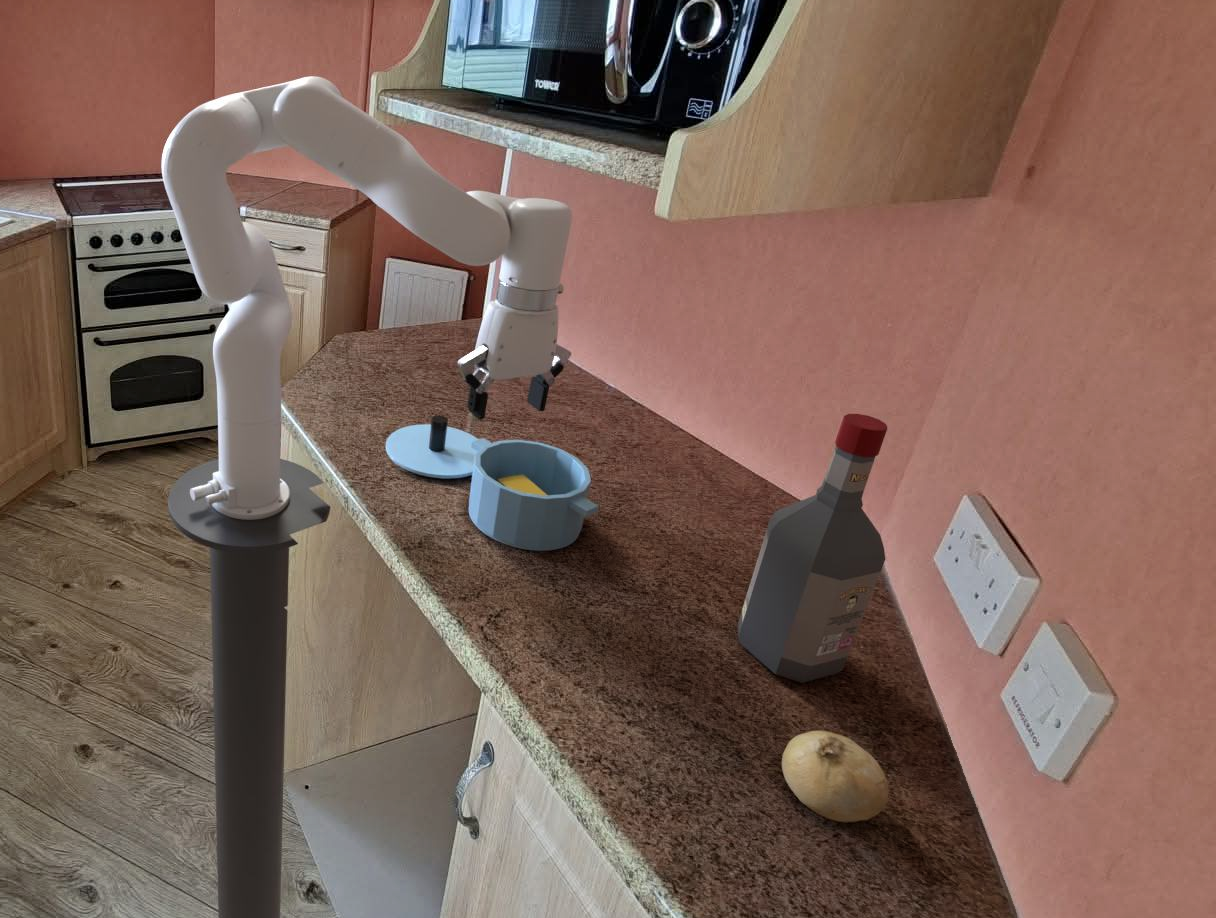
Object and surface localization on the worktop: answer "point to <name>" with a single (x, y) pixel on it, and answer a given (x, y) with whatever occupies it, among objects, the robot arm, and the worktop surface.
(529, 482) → the corn
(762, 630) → the liquor
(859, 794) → the onion
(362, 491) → the worktop surface
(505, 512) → the pot
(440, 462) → the lid
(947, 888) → the worktop surface
